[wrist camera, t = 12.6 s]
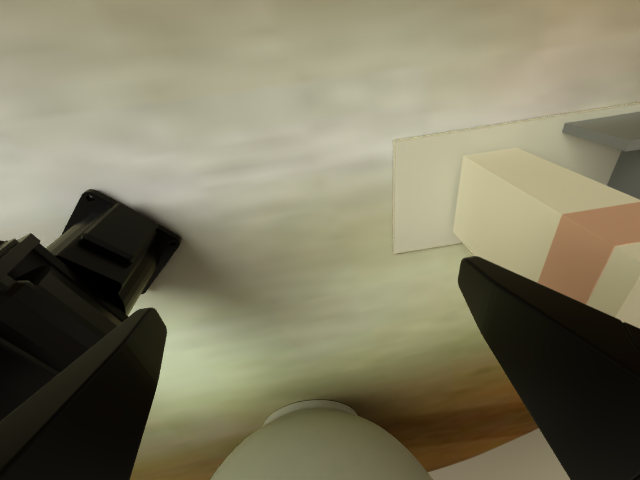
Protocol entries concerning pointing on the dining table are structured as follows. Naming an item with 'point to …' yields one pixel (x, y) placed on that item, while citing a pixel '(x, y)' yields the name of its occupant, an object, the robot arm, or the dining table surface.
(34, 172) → the dining table surface
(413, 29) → the dining table surface
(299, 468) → the decorative bowl
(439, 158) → the box holder
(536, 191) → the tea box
